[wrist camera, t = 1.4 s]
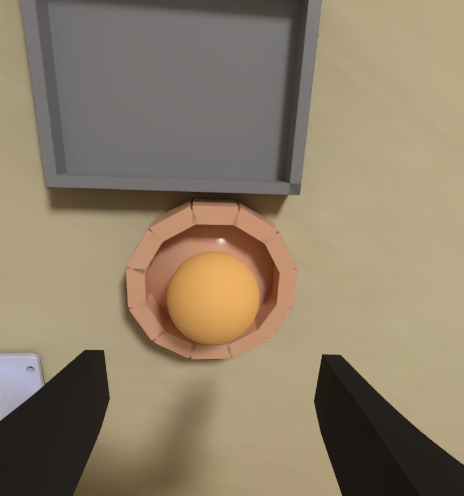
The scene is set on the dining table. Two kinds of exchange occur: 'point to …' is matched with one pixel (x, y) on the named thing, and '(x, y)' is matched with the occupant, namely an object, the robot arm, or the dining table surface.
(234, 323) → the ball
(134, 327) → the dining table surface
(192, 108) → the tray
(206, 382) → the dining table surface
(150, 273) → the dish
